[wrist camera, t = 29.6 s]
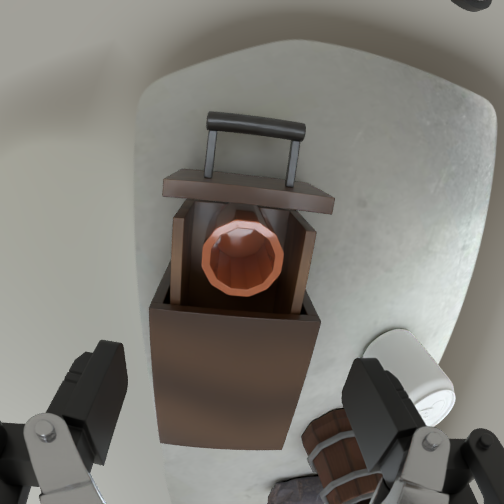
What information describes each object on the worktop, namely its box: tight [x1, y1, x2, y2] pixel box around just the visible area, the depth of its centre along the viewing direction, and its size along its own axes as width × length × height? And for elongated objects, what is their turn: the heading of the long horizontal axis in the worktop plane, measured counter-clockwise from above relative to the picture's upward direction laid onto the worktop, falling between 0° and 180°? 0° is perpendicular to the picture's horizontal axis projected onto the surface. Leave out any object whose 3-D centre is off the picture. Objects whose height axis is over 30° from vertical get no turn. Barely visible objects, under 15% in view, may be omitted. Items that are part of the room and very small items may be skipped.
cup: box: [201, 203, 284, 297], centre depth 25 cm, size 6×6×7 cm
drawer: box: [162, 111, 335, 315], centre depth 26 cm, size 20×12×8 cm, turn 173°
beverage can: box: [363, 329, 456, 427], centre depth 32 cm, size 8×8×12 cm
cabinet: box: [149, 260, 321, 450], centre depth 30 cm, size 17×13×10 cm
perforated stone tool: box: [267, 476, 324, 504], centre depth 44 cm, size 15×5×7 cm, turn 93°
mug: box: [301, 409, 383, 504], centre depth 36 cm, size 16×12×15 cm
